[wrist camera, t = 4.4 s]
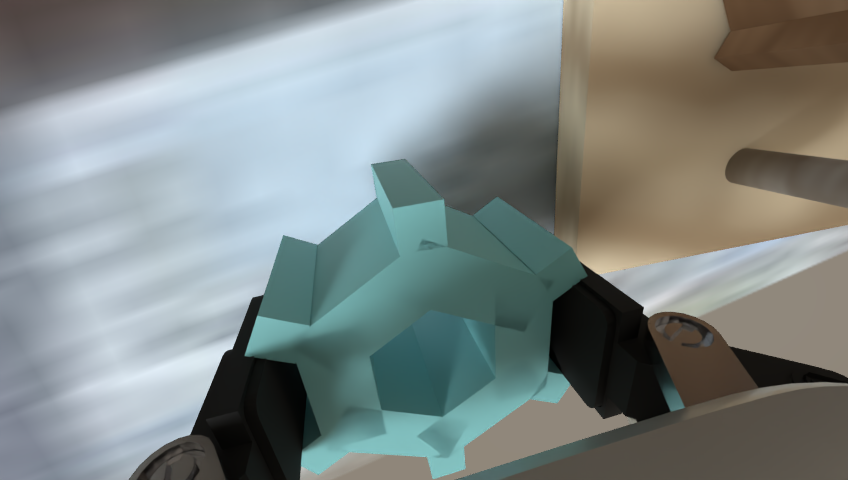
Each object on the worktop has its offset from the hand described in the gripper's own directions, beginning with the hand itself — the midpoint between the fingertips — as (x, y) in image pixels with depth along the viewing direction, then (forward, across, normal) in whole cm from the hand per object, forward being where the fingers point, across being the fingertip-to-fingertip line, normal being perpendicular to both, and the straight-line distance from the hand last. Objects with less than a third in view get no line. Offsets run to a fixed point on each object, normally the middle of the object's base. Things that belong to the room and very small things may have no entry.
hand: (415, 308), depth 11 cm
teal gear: (+1, 0, 0) cm, 1 cm away
